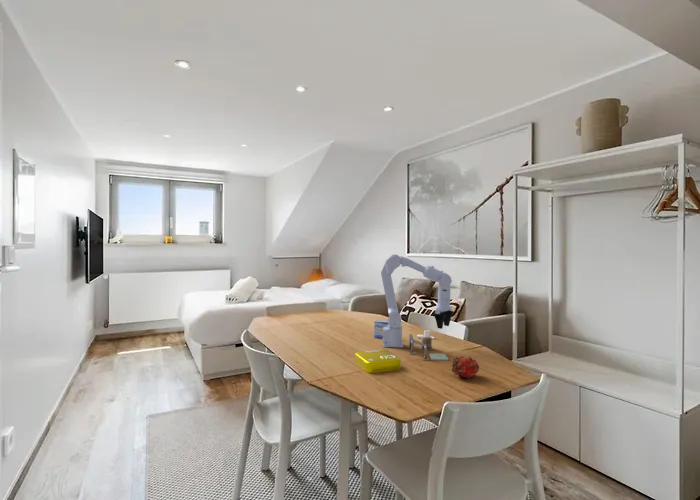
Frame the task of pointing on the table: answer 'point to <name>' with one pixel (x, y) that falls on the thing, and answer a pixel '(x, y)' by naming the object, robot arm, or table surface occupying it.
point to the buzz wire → (419, 344)
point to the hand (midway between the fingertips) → (443, 327)
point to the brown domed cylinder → (427, 341)
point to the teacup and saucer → (425, 334)
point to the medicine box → (379, 328)
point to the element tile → (377, 361)
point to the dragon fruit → (465, 367)
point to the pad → (438, 356)
